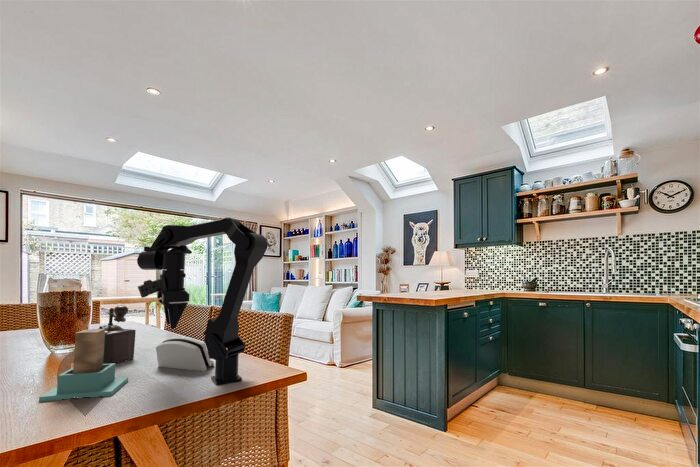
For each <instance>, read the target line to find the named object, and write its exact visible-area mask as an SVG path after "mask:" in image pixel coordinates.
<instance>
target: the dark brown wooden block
mask: <svg viewBox="0 0 700 467" xmlns="http://www.w3.org/2000/svg"><path fill="white" fill-rule="evenodd" d="M129 310H130V309H129V307H128V306H126V305H123V304H121V305H117V306H116V307H111V308H109V312H108V313H107V314H108V316H109V317H108V323H107V324H106V325H102V326H101V325H100V326H99V327H98V328H97V329H105V341H104V357H103V364H112V363H116V364H120V363H121V364H122V363H125V362H128V361H131V360H134V357H135V346H136V345H135V344H136V343H135V342H136V329H129V328H123V327H121V326H119V325H117V324H114V323H113V321H114V322H117V323H120V322H121V323H125V322H126V320H127V318H125V316H126V315H127V314H128V313H129ZM116 364H115V365H116Z"/></svg>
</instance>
